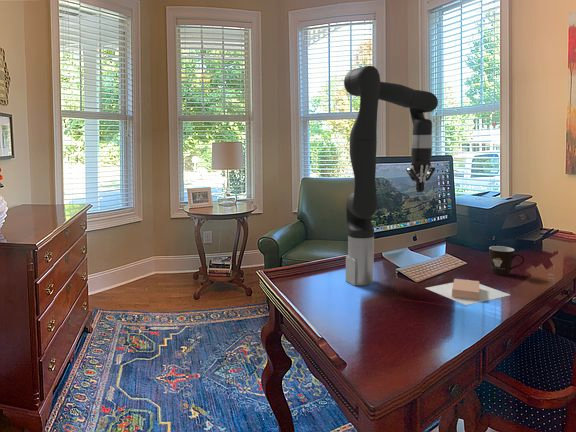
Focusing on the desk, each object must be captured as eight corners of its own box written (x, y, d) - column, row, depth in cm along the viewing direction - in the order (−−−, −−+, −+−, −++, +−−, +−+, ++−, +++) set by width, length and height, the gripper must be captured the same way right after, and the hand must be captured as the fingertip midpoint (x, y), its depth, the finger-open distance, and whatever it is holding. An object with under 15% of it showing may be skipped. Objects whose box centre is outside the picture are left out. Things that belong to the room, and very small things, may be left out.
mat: (465, 306, 134) (465, 305, 134) (424, 289, 150) (424, 288, 150) (511, 296, 142) (511, 294, 142) (467, 281, 158) (467, 279, 158)
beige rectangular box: (478, 288, 148) (478, 300, 137) (453, 286, 151) (451, 297, 140) (479, 281, 148) (479, 292, 137) (454, 278, 151) (452, 289, 140)
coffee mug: (482, 272, 168) (483, 247, 166) (499, 269, 171) (501, 245, 169) (507, 281, 157) (508, 254, 155) (524, 278, 160) (526, 251, 158)
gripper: (414, 147, 161) (413, 193, 164) (441, 146, 166) (440, 191, 169) (401, 147, 167) (400, 192, 170) (428, 146, 173) (426, 190, 176)
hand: (420, 191), depth 170 cm, fingers closed
